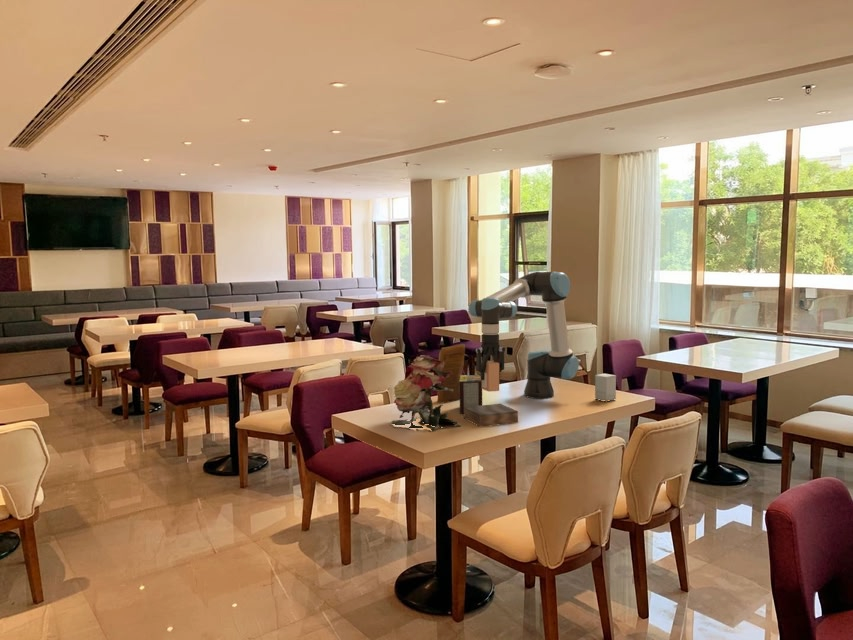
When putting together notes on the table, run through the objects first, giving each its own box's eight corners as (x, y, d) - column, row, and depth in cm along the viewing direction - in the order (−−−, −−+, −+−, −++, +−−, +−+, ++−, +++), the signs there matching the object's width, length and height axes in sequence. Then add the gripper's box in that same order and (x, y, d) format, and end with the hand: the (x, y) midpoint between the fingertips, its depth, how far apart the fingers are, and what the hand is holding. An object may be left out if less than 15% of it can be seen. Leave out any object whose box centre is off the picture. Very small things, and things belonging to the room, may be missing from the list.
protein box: (482, 407, 301) (482, 374, 300) (482, 414, 286) (482, 381, 284) (460, 406, 302) (460, 374, 300) (459, 414, 287) (459, 380, 285)
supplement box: (616, 400, 311) (616, 375, 310) (606, 402, 307) (606, 376, 306) (604, 397, 317) (604, 373, 316) (594, 399, 313) (594, 374, 312)
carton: (499, 390, 272) (499, 363, 270) (488, 391, 270) (488, 363, 269) (491, 387, 278) (491, 360, 277) (481, 388, 276) (481, 361, 275)
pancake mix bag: (469, 398, 319) (469, 343, 317) (441, 404, 308) (440, 347, 305) (460, 396, 325) (460, 342, 322) (432, 402, 313) (431, 346, 310)
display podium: (500, 414, 286) (500, 403, 285) (517, 422, 271) (517, 411, 270) (464, 418, 279) (464, 407, 279) (480, 426, 264) (480, 415, 264)
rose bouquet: (420, 413, 289) (419, 349, 286) (467, 425, 268) (466, 355, 265) (376, 424, 271) (375, 355, 269) (422, 437, 250) (421, 362, 247)
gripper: (504, 331, 278) (504, 383, 280) (467, 333, 272) (467, 387, 274) (513, 333, 271) (512, 386, 273) (475, 335, 265) (475, 390, 267)
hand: (490, 386), depth 274 cm, fingers closed on carton, 5 cm apart
